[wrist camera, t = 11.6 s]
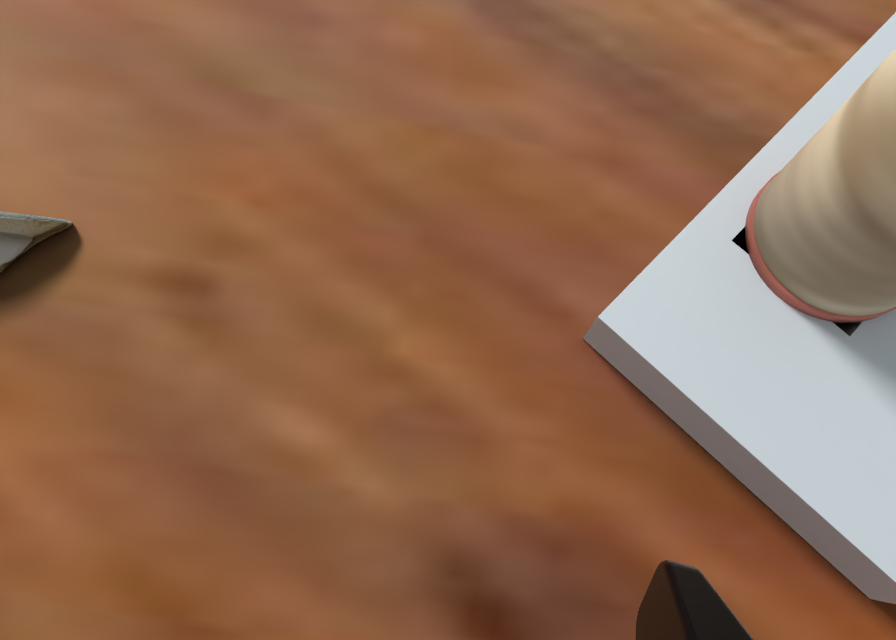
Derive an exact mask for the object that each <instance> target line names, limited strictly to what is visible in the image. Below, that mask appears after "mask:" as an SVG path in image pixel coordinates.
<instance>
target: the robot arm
mask: <svg viewBox="0 0 896 640" xmlns="http://www.w3.org/2000/svg"><path fill="white" fill-rule="evenodd" d="M636 640H753V639H752V637H751V636H750V635H749V633H748V632H747V631H746V630H745V628H744V627H743V626H742V624H741V623H740V622H739V620H738V619H737V618H736V617H735V615H734V614H733V613H732V611H731V610H730V609H729V608H728V606H727V605H726V604H725V602H724V601H723V600H722V599H721V597H720V596H719V595H718V593H717V592H716V591H715V590H714V588H713V587H712V586H711V584H710V583H709V582H708V580H707V579H706V578H705V577H704V575H703V574H702V573H701V572H700V571H699V570H698V569H696V568H694V567H692V566H688V565H684V564H680V563H677V562H673V561H669V560H666V561H663V562H661V563H660V564H659V565H658V567H657V569H656V571H655V573H654V575H653V578H652V580H651V582H650V585H649V587H648V589H647V591H646V594H645V596H644V598H643V600H642V603H641V605H640V608H639V611H638V616H637V623H636Z"/></svg>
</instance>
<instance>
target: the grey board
mask: <svg viewBox="0 0 896 640" xmlns="http://www.w3.org/2000/svg"><path fill="white" fill-rule="evenodd" d="M895 49H896V13H895V14H894V15H893V16H892V17H891V18H890V19H889V20H888V21H887V22H886V23H885V24H884V25H883V26H882V27H881V28H880V29H879V30H878V31H877V32H876V33H875V34H874V35H873V36H872V37H871V38H870V39H869V40H868V41H867V42H866V43H865V44H864V45H863V46H862V47H861V48H860V49H859V50H858V52H857V53H856V54H855V55H854V56H853V57H852V58H851V59H850V60H849V61H848V62H847V63H846V64H845V65H844V66H843V67H842V68H841V69H840V70H839V71H838V72H837V73H836V74H835V75H834V76H833V77H832V78H831V79H830V80H829V81H828V82H827V83H826V84H825V85H824V86H823V87H822V88H821V89H820V90H819V91H818V92H817V93H816V94H815V95H814V96H813V97H812V99H811V100H810V101H809V102H808V103H807V104H806V105H805V106H804V107H803V108H802V109H801V110H800V111H799V112H798V113H797V114H796V115H795V116H794V117H793V118H792V119H791V120H790V121H789V122H788V123H787V124H786V125H785V126H784V127H783V128H782V129H781V130H780V131H779V132H778V133H777V134H776V135H775V136H774V137H773V138H772V139H771V140H770V141H769V142H768V143H767V145H766V146H765V147H764V148H763V149H762V150H761V151H760V152H759V153H758V154H757V155H756V156H755V157H754V158H753V159H752V160H751V161H750V162H749V163H748V164H747V165H746V166H745V167H744V168H743V169H742V170H741V171H740V172H739V173H738V174H737V175H736V176H735V177H734V178H733V179H732V180H731V181H730V182H729V183H728V184H727V185H726V186H725V187H724V188H723V189H722V190H721V192H720V193H719V194H718V195H717V196H716V197H715V198H714V199H713V200H712V201H711V202H710V203H709V204H708V205H707V206H706V207H705V208H704V209H703V210H702V211H701V212H700V213H699V214H698V215H697V216H696V217H695V218H694V219H693V220H692V221H691V222H690V223H689V224H688V225H687V226H686V227H685V228H684V229H683V230H682V231H681V232H680V233H679V234H678V235H677V236H676V237H675V239H674V240H673V241H672V242H671V243H670V244H669V245H668V246H667V247H666V248H665V249H664V250H663V251H662V252H661V253H660V254H659V255H658V256H657V257H656V258H655V259H654V260H653V261H652V262H651V263H650V264H649V265H648V266H647V267H646V268H645V269H644V270H643V271H642V272H641V273H640V274H639V275H638V276H637V277H636V278H635V279H634V280H633V281H632V282H631V283H630V285H629V286H628V287H627V288H626V289H625V290H624V291H623V292H622V293H621V294H620V295H619V296H618V297H617V298H616V299H615V300H614V301H613V302H612V303H611V304H610V305H609V306H608V307H607V308H606V309H605V310H604V311H603V312H602V313H601V314H600V315H599V316H598V317H597V319H596V320H595V322H594V323H593V324H592V326H591V327H590V329H589V330H588V331H587V333H586V334H585V336H584V337H583V339H584V340H585V341H586V342H587V343H588V344H589V345H591V346H592V347H593V348H594V349H595V350H596V351H597V352H598V353H599V354H600V355H602V356H603V357H604V358H605V359H606V360H607V361H608V362H609V363H610V364H611V365H613V366H614V367H615V368H616V369H617V370H618V371H619V372H620V373H621V374H622V375H624V376H625V377H626V378H627V379H628V380H629V381H630V382H631V383H632V384H633V385H635V386H636V387H637V388H638V389H639V390H640V391H641V392H642V393H643V394H645V395H646V396H647V397H648V398H649V399H650V400H651V401H652V402H653V403H654V404H656V405H657V406H658V407H659V408H660V409H661V410H662V411H663V412H664V413H665V414H667V415H668V416H669V417H670V418H671V419H672V420H673V421H674V422H675V423H676V424H678V425H679V426H680V427H681V428H682V429H683V430H684V431H685V432H686V433H687V434H689V435H690V436H691V437H692V438H693V439H694V440H695V441H696V442H697V443H698V444H700V445H701V446H702V447H703V448H704V449H705V450H706V451H707V452H708V453H710V454H711V455H712V456H713V457H714V458H715V459H716V460H717V461H718V462H719V463H721V464H722V465H723V466H724V467H725V468H726V469H727V470H728V471H729V472H730V473H732V474H733V475H734V476H735V477H736V478H737V479H738V480H739V481H740V482H741V483H743V484H744V485H745V486H746V487H747V488H748V489H749V490H750V491H751V492H752V493H754V494H755V495H756V496H757V497H758V498H759V499H760V500H761V501H762V502H763V503H765V504H766V505H767V506H768V507H769V508H770V509H771V510H772V511H773V512H775V513H776V514H777V515H778V516H779V517H780V518H781V519H782V520H783V521H784V522H786V523H787V524H788V525H789V526H790V527H791V528H792V529H793V530H794V531H795V532H797V533H798V534H799V535H800V536H801V537H802V538H803V539H804V540H805V541H806V542H808V543H809V544H810V545H811V546H812V547H813V548H814V549H815V550H816V551H817V552H819V553H820V554H821V555H822V556H823V557H824V558H825V559H826V560H827V561H828V562H830V563H831V564H832V565H833V566H834V567H835V568H836V569H837V570H838V571H840V572H841V573H842V574H843V575H844V576H845V577H846V578H847V579H848V580H849V581H851V582H852V583H853V584H854V585H855V586H856V587H857V588H858V589H859V590H860V591H862V592H863V593H864V594H865V595H866V596H867V597H868V598H869V599H873V600H877V601H882V602H887V603H891V604H896V309H894V310H892V311H890V312H887V313H885V314H883V315H881V316H878V317H876V318H873V319H870V320H866V321H860V322H853V323H840V322H836V323H835V324H834V323H833V322H831V321H826V320H822V319H818V318H815V317H812V316H809V315H806V314H804V313H802V312H800V311H798V310H796V309H794V308H793V307H791V306H790V305H788V304H787V303H785V302H784V301H783V300H781V299H780V298H779V297H778V296H776V295H775V294H774V293H773V292H772V291H771V290H770V289H769V288H768V287H767V285H766V284H765V283H764V282H763V280H762V279H761V278H760V276H759V275H758V273H757V271H756V270H755V268H754V266H753V264H752V261H751V259H750V257H749V254H747V253H746V252H745V251H744V250H743V249H741V248H740V247H739V246H738V245H736V244H735V243H734V242H733V241H732V239H733V238H734V237H735V236H736V235H737V234H738V233H739V232H740V231H741V230H742V229H743V228H744V227H745V224H746V217H747V214H748V210H749V207H750V205H751V203H752V201H753V199H754V198H755V196H756V195H757V193H758V192H759V191H760V190H761V189H762V187H763V186H764V185H765V184H766V183H767V182H768V181H769V180H770V179H771V178H772V177H773V176H774V175H775V174H777V173H778V172H779V171H780V170H782V169H783V168H784V166H785V165H786V164H787V163H788V162H789V161H790V160H791V159H792V158H793V157H794V156H795V155H796V154H797V153H798V152H799V151H800V149H801V148H802V147H803V146H804V145H805V144H806V143H807V142H808V141H809V140H810V139H811V138H812V137H813V136H814V135H815V134H816V132H817V131H818V130H819V129H820V128H821V127H822V126H823V125H824V124H825V123H826V122H827V121H828V120H829V119H830V118H831V117H832V115H833V114H834V113H835V112H836V111H837V110H838V109H839V108H840V107H841V106H842V105H843V104H844V103H845V102H846V101H847V100H848V98H849V97H850V96H851V95H852V94H853V93H854V92H855V91H856V90H857V89H858V88H859V87H860V86H861V85H862V84H863V83H864V81H865V80H866V79H867V78H868V77H869V76H870V75H871V74H872V73H873V72H874V71H875V70H876V69H877V68H878V67H879V66H880V64H881V63H882V62H883V61H884V60H885V59H886V58H887V57H888V56H889V55H890V54H891V53H892V52H893V51H894V50H895Z"/></svg>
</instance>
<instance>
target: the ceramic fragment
mask: <svg viewBox="0 0 896 640" xmlns="http://www.w3.org/2000/svg"><path fill="white" fill-rule="evenodd" d="M71 225H72V222H70V221H67V220H64V219H57V218H49V217H42V216H36V215H27V214H17V213H9V212H2V211H0V273H1V272H2V271H3V270H4V269H5V268H6V267H7V266H8V265H10V264H11V263H12V262H13V261H15V260H16V259H17V258H18V257H20V256H21V255H22V254H24V253H25V252H26V251H27V250H28V249H30V248H31V247H32V246H34V245H35V244H37V243H38V242H40V241H42V240H44V239H46V238H47V237H49V236H51V235H53V234H55V233H58V232H60V231H63V230H65V229H66V228H68V227H69V226H71Z"/></svg>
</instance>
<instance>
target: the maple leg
mask: <svg viewBox="0 0 896 640" xmlns="http://www.w3.org/2000/svg"><path fill="white" fill-rule="evenodd" d="M745 239H746V246H747V250H748V253H749V257H750V259H751V261H752V264H753V266H754V268H755V270H756V271H757V273H758V275H759V276H760V278H761V279H762V280H763V282H764V283H765V284H766V285H767V287H768V288H769V289H770V290H771V291H772V292H773V293H774V294H775V295H776V296H778V297H779V298H780V299H781V300H783V301H784V302H785V303H787V304H788V305H790V306H791V307H793V308H794V309H796V310H798V311H800V312H802V313H804V314H806V315H809V316H812V317H815V318H818V319H822V320H826V321H831V322H840V323H853V322H860V321H866V320H870V319H873V318H876V317H878V316H881V315H883V314H885V313H887V312H890V311H892V310H894V309H896V49H895V50H894V51H893V52H892V53H891V54H890V55H889V56H888V57H887V58H886V59H885V60H884V61H883V62H882V63H881V64H880V66H879V67H878V68H877V69H876V70H875V71H874V72H873V73H872V74H871V75H870V76H869V77H868V78H867V79H866V80H865V81H864V83H863V84H862V85H861V86H860V87H859V88H858V89H857V90H856V91H855V92H854V93H853V94H852V95H851V96H850V97H849V98H848V100H847V101H846V102H845V103H844V104H843V105H842V106H841V107H840V108H839V109H838V110H837V111H836V112H835V113H834V114H833V115H832V117H831V118H830V119H829V120H828V121H827V122H826V123H825V124H824V125H823V126H822V127H821V128H820V129H819V130H818V131H817V132H816V134H815V135H814V136H813V137H812V138H811V139H810V140H809V141H808V142H807V143H806V144H805V145H804V146H803V147H802V148H801V149H800V151H799V152H798V153H797V154H796V155H795V156H794V157H793V158H792V159H791V160H790V161H789V162H788V163H787V164H786V165H785V166H784V168H783V169H782V170H780V171H779V172H778V173H777V174H775V175H774V176H773V177H772V178H771V179H770V180H769V181H768V182H767V183H766V184H765V185H764V186H763V187H762V189H761V190H760V191H759V192H758V193H757V195H756V196H755V198H754V199H753V201H752V203H751V205H750V207H749V210H748V214H747V217H746V224H745Z"/></svg>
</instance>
